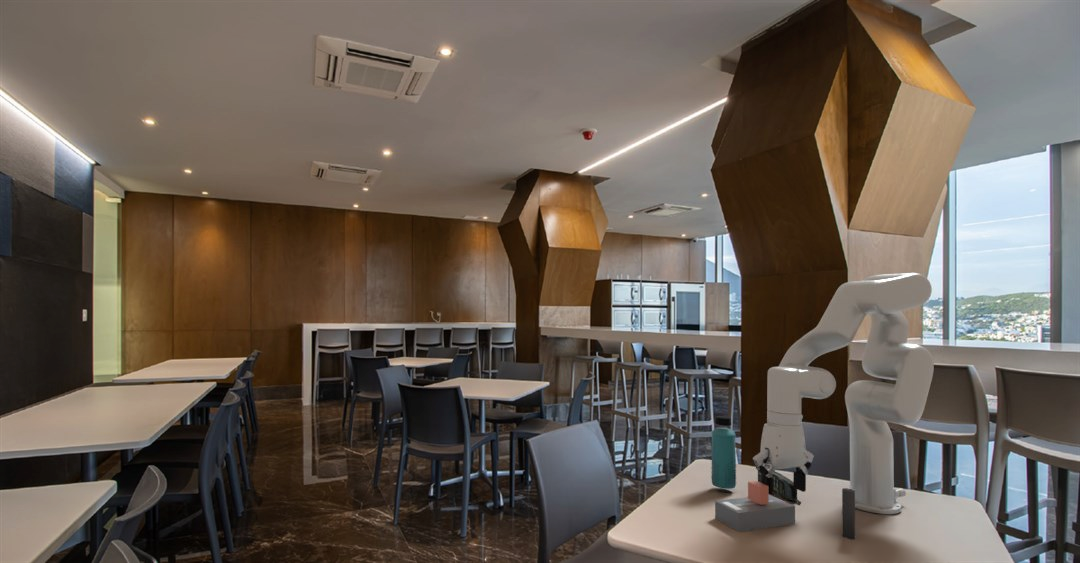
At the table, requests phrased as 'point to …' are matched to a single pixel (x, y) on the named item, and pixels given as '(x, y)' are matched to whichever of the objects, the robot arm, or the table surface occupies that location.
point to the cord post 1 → (760, 477)
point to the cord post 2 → (848, 513)
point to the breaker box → (754, 513)
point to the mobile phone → (784, 487)
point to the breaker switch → (758, 492)
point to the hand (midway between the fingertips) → (783, 491)
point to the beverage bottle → (723, 455)
